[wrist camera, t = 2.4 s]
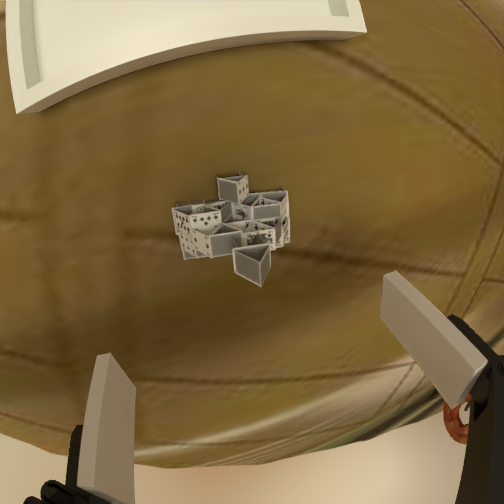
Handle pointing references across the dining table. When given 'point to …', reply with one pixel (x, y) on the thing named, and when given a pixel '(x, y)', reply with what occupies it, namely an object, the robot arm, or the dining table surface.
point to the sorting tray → (147, 37)
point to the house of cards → (235, 226)
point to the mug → (456, 422)
